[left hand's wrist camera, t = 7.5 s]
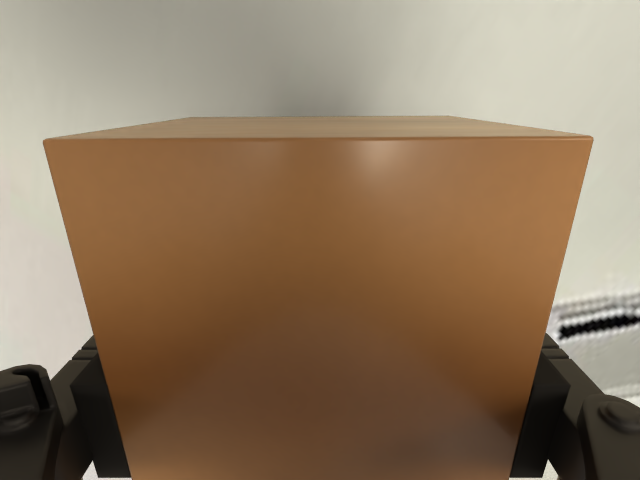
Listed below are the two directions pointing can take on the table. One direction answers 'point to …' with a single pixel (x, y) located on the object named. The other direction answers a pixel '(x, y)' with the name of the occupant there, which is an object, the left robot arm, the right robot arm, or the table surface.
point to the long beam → (319, 289)
